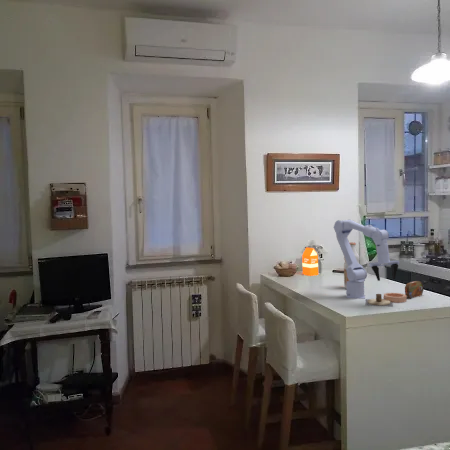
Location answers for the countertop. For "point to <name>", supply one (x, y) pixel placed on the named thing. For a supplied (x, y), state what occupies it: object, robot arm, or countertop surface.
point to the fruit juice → (347, 264)
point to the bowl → (395, 297)
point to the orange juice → (310, 262)
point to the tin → (414, 289)
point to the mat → (378, 305)
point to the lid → (378, 301)
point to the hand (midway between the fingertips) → (386, 279)
